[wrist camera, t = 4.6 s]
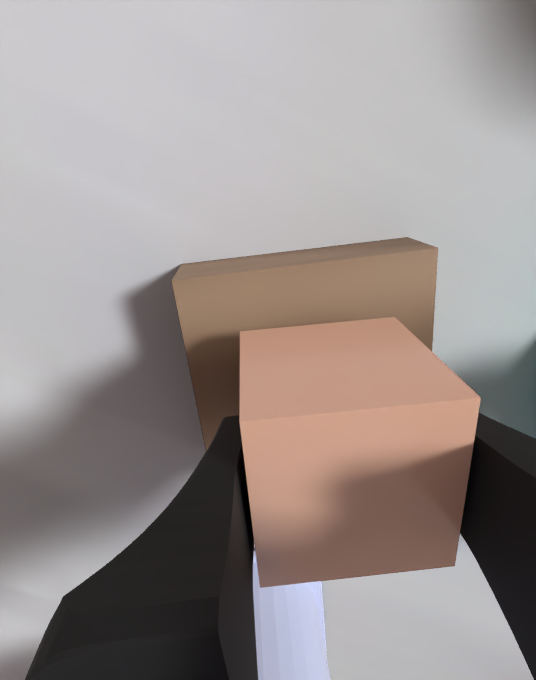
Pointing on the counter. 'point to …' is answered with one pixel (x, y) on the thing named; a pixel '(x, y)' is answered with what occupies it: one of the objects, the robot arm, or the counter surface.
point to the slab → (293, 305)
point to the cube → (352, 450)
